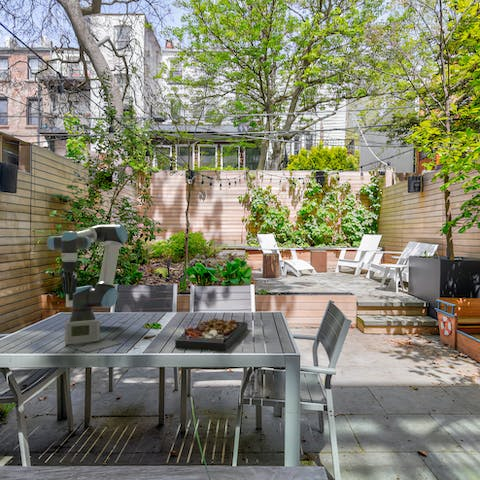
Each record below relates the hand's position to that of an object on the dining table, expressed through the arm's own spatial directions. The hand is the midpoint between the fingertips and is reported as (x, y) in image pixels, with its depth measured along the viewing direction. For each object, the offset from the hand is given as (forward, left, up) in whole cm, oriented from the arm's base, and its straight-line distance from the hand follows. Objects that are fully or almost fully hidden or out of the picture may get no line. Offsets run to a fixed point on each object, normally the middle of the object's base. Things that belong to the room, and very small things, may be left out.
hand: (69, 306), depth 191 cm
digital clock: (+12, 0, -17) cm, 21 cm away
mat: (+25, 0, -17) cm, 30 cm away
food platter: (+62, +44, -18) cm, 78 cm away
